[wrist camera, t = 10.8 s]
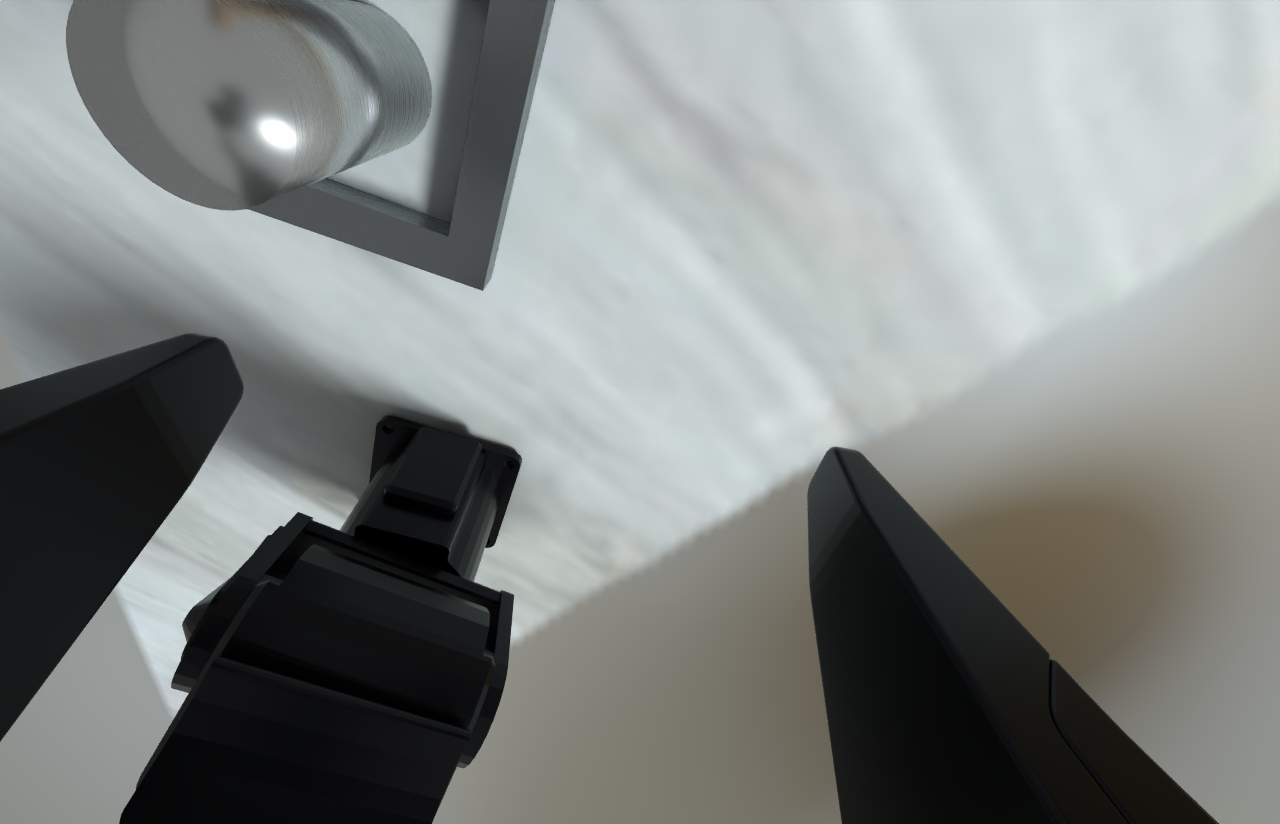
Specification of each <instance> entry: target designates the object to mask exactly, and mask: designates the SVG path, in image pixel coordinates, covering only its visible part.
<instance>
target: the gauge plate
mask: <svg viewBox="0 0 1280 824" xmlns="http://www.w3.org/2000/svg"><path fill="white" fill-rule="evenodd" d="M554 3H555V0H490V2H489V8H488V14H487V19H486V25H485V31H484V36H483V42H482V48H481V54H480V59H479V65H478V71H477V76H476V82H475V88H474V93H473V99H472V105H471V111H470V116H469V122H468V128H467V133H466V139H465V145H464V150H463V156H462V162H461V168H460V173H459V179H458V185H457V190H456V196H455V202H454V207H453V213H452V219H451V224H449V223H446V222H444V221H441V220H438V219H435V218H433V217H430V216H427V215H424V214H422V213H419V212H416V211H414V210H411V209H408V208H405V207H403V206H400V205H397V204H394V203H392V202H389V201H386V200H384V199H381V198H378V197H375V196H373V195H370V194H367V193H364V192H362V191H359V190H356V189H354V188H351V187H348V186H345V185H343V184H340V183H337V182H334V181H332V180H329V179H326V178H325V179H322V180H320V181H317V182H315V183H312V184H310V185H307V186H305V187H302V188H300V189H297V190H295V191H292V192H290V193H288V194H285V195H283V196H280V197H278V198H275V199H273V200H270V201H268V202H265V203H263V204H260V205H258V206H255V207H251V208H248V209H249V210H252V211H255V212H258V213H261V214H264V215H267V216H269V217H272V218H275V219H278V220H281V221H284V222H287V223H290V224H292V225H295V226H298V227H301V228H304V229H307V230H310V231H313V232H315V233H318V234H321V235H324V236H327V237H330V238H333V239H336V240H338V241H341V242H344V243H347V244H350V245H353V246H356V247H359V248H362V249H364V250H367V251H370V252H373V253H376V254H379V255H382V256H385V257H387V258H390V259H393V260H396V261H399V262H402V263H405V264H408V265H410V266H413V267H416V268H419V269H422V270H425V271H428V272H431V273H433V274H436V275H439V276H442V277H445V278H448V279H451V280H454V281H456V282H459V283H462V284H465V285H468V286H471V287H474V288H477V289H480V290H482V291H483V290H484V288H485V287H486V285H487V284H488V283H489V281H490V280H491V277H492V272H493V268H494V264H495V259H496V255H497V251H498V246H499V242H500V238H501V233H502V229H503V225H504V220H505V216H506V212H507V207H508V203H509V198H510V194H511V190H512V185H513V181H514V177H515V172H516V168H517V164H518V159H519V155H520V151H521V146H522V142H523V138H524V133H525V129H526V125H527V120H528V116H529V112H530V107H531V103H532V99H533V94H534V90H535V85H536V81H537V77H538V72H539V68H540V64H541V59H542V55H543V51H544V46H545V42H546V38H547V33H548V29H549V25H550V20H551V16H552V12H553V7H554Z"/></svg>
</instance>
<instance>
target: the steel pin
mask: <svg viewBox="0 0 1280 824" xmlns="http://www.w3.org/2000/svg"><path fill="white" fill-rule="evenodd" d="M66 45H67V53H68V60H69V64H70V68H71V72H72V75H73V78H74V81H75V84H76V87H77V89H78V92H79V94H80V96H81V98H82V100H83V102H84V104H85V106H86V108H87V110H88V111H89V113H90V115H91V116H92V118H93V120H94V122H95V123H96V124H97V126H98V127H99V129H100V130H101V131H102V133H103V134H104V136H105V137H106V138H107V139H108V141H109V142H110V143H111V144H112V145H113V147H114V148H115V149H116V150H117V151H118V152H119V153H120V154H121V155H122V156H123V157H124V158H125V159H126V160H127V161H128V162H129V163H130V164H131V165H132V166H133V167H134V168H136V169H137V170H138V171H139V172H140V173H141V174H143V175H144V176H145V177H147V178H148V179H149V180H151V181H152V182H153V183H155V184H156V185H158V186H160V187H161V188H163V189H164V190H166V191H168V192H169V193H171V194H173V195H175V196H177V197H179V198H181V199H184V200H186V201H189V202H191V203H194V204H197V205H200V206H204V207H207V208H213V209H219V210H242V209H248V208H251V207H255V206H258V205H260V204H263V203H265V202H268V201H270V200H273V199H275V198H278V197H280V196H283V195H285V194H288V193H290V192H292V191H295V190H297V189H300V188H302V187H305V186H307V185H310V184H312V183H315V182H317V181H320V180H322V179H325V178H327V177H330V176H332V175H334V174H337V173H339V172H342V171H344V170H347V169H349V168H352V167H354V166H357V165H359V164H362V163H364V162H367V161H369V160H372V159H374V158H376V157H379V156H381V155H384V154H386V153H389V152H391V151H394V150H396V149H399V148H401V147H403V146H406V145H408V144H409V143H411V142H412V141H413V140H414V139H416V138H417V137H418V136H419V134H420V133H421V132H422V130H423V129H424V127H425V125H426V123H427V121H428V118H429V115H430V110H431V104H432V88H431V81H430V76H429V73H428V69H427V66H426V64H425V61H424V58H423V56H422V54H421V52H420V50H419V49H418V47H417V45H416V44H415V42H414V41H413V39H412V38H411V37H410V35H409V34H408V33H407V31H406V30H405V29H404V28H403V27H402V26H401V25H400V24H399V23H398V22H396V21H395V20H394V19H393V18H392V17H391V16H389V15H388V14H386V13H385V12H383V11H381V10H379V9H377V8H375V7H373V6H371V5H368V4H365V3H361V2H356V1H350V0H74V1H73V4H72V7H71V9H70V12H69V16H68V21H67V27H66Z"/></svg>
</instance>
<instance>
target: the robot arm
mask: <svg viewBox="0 0 1280 824" xmlns="http://www.w3.org/2000/svg"><path fill="white" fill-rule="evenodd" d="M243 388H244V387H243V381H242V379H241V376H240V374H239V371H238V369H237V367H236V364H235V362H234V360H233V357H232V355H231V352H230V350H229V348H228V346H227V344H226V343H225V342H224V341H223V340H221V339H219V338H216V337H211V336H205V335H200V334H184V335H180V336H177V337H174V338H170V339H167V340H164V341H160V342H157V343H154V344H150V345H147V346H144V347H140V348H137V349H134V350H130V351H127V352H124V353H120V354H117V355H114V356H111V357H107V358H104V359H101V360H97V361H94V362H91V363H87V364H84V365H81V366H77V367H74V368H71V369H67V370H64V371H61V372H57V373H54V374H51V375H47V376H44V377H41V378H37V379H34V380H31V381H27V382H24V383H21V384H18V385H14V386H11V387H7V388H4V389H1V390H0V741H1V740H2V739H3V737H4V736H5V735H6V733H7V732H8V730H9V729H10V728H11V726H12V725H13V724H14V722H15V721H16V720H17V718H18V717H19V716H20V714H21V713H22V711H23V710H24V709H25V707H26V706H27V705H28V704H29V702H30V701H31V699H32V698H33V697H34V695H35V694H36V693H37V691H38V690H39V689H40V687H41V686H42V685H43V683H44V682H45V680H46V679H47V678H48V676H49V675H50V674H51V672H52V671H53V670H54V668H55V667H56V666H57V664H58V663H59V662H60V660H61V659H62V658H63V656H64V655H65V653H66V652H67V651H68V650H69V648H70V647H71V646H72V644H73V643H74V641H75V640H76V639H77V637H78V636H79V635H80V633H81V632H82V631H83V629H84V628H85V627H86V625H87V624H88V623H89V621H90V620H91V619H92V617H93V616H94V615H95V613H96V612H97V610H98V609H99V608H100V606H101V605H102V604H103V602H104V601H105V600H106V598H107V597H108V596H109V594H110V593H111V592H112V590H113V589H114V588H115V586H116V585H117V584H118V582H119V581H120V579H121V578H122V577H123V575H124V574H125V573H126V571H127V570H128V569H129V567H130V566H131V565H132V563H133V562H134V561H135V559H136V558H137V557H138V555H139V554H140V552H141V551H142V550H143V548H144V547H145V546H146V544H147V543H148V542H149V540H150V539H151V538H152V536H153V535H154V534H155V532H156V531H157V530H158V528H159V527H160V526H161V524H162V523H163V521H164V520H165V519H166V517H167V516H168V515H169V513H170V512H171V511H172V509H173V508H174V507H175V505H176V504H177V503H178V501H179V500H180V499H181V497H182V496H183V494H184V493H185V491H186V490H187V489H188V487H189V486H190V484H191V483H192V481H193V480H194V478H195V476H196V475H197V473H198V472H199V470H200V468H201V467H202V465H203V463H204V462H205V460H206V458H207V456H208V455H209V453H210V451H211V450H212V448H213V446H214V444H215V443H216V441H217V439H218V438H219V436H220V434H221V432H222V431H223V429H224V427H225V426H226V424H227V422H228V420H229V419H230V417H231V415H232V414H233V412H234V410H235V408H236V407H237V405H238V403H239V402H240V400H241V398H242V394H243ZM387 425H389V426H391V427H392V428H393V429H390V428H388V427H387ZM507 461H512V462H514V463H513V464H512V463H509V462H507ZM521 463H522V458H521V456H520V455H519V454H518V453H516V452H514V451H510V450H507V449H504V448H500V447H497V446H493V445H490V444H487V443H483V442H480V441H476V440H473V439H470V438H466V437H463V436H459V435H456V434H453V433H449V432H446V431H442V430H439V429H436V428H432V427H429V426H425V425H422V424H419V423H415V422H412V421H408V420H405V419H402V418H398V417H395V416H390V415H387V416H384V417H382V418H381V420H380V421H379V422H378V424H377V426H376V434H375V442H374V450H373V458H372V466H371V474H370V482H369V486H368V487H367V489H366V490H365V492H364V493H363V495H362V497H361V498H360V500H359V501H358V503H357V504H356V506H355V507H354V509H353V511H352V512H351V514H350V515H349V517H348V518H347V520H346V521H345V523H344V525H343V526H342V528H341V529H340V531H339V530H337V529H334V528H331V527H329V526H326V525H323V524H321V523H318V522H316V521H313V518H312V517H310V516H307V515H305V514H302V513H299V512H298V513H297V514H296V515H295V516H294V517H293V518H292V519H291V520H290V521H289V522H288V523H287V524H286V525H285V527H283V526H280V527H279V528H278V529H277V530H276V531H275V532H274V533H273V534H272V535H268V536H267V537H266V538H265V540H264V541H263V542H262V543H261V545H260V546H259V547H258V549H257V550H256V551H255V552H254V554H253V555H252V556H251V557H250V558H249V559H248V560H247V561H246V562H245V563H244V564H243V566H242V567H241V568H240V569H239V570H238V571H237V572H236V573H235V574H234V575H233V576H232V577H231V578H230V579H228V580H227V581H226V582H225V583H223V584H222V585H221V586H219V587H218V588H217V589H216V590H214V591H213V592H212V593H210V594H209V595H208V596H207V597H205V598H204V599H203V600H201V601H200V602H199V603H197V604H196V605H195V606H194V607H193V608H192V609H191V610H190V612H189V613H188V615H187V616H186V618H185V619H184V621H183V624H182V626H183V630H184V634H185V637H186V641H187V644H186V646H185V648H184V651H183V653H182V656H181V661H180V663H179V666H178V668H177V670H176V672H175V674H174V677H173V680H172V684H171V688H173V689H176V690H180V691H184V692H187V693H189V694H188V696H187V697H186V699H185V701H184V703H183V704H182V706H181V708H180V709H179V711H178V713H177V714H176V716H175V718H174V720H173V721H172V723H171V725H170V726H169V728H168V730H167V732H166V733H165V735H164V737H163V738H162V740H161V742H160V743H159V745H158V747H157V749H156V750H155V752H154V754H153V755H152V757H151V759H150V760H149V762H148V764H147V766H146V767H145V769H144V771H143V772H142V774H141V776H140V779H139V781H138V783H137V786H136V791H135V793H134V794H133V796H132V797H131V799H130V801H129V802H128V804H127V805H126V807H125V808H124V810H123V813H122V814H121V818H120V823H119V824H432V822H433V819H434V817H435V815H436V812H437V810H438V808H439V806H440V803H441V801H442V799H443V796H444V794H445V792H446V790H447V787H448V785H449V783H450V781H451V779H452V776H453V774H454V771H455V770H456V767H461V768H465V767H466V766H468V765H469V764H470V763H471V761H472V760H473V759H474V757H475V756H476V754H477V753H478V751H479V749H480V748H481V746H482V744H483V742H484V740H485V738H486V736H487V734H488V732H489V729H490V727H491V724H492V722H493V720H494V717H495V714H496V711H497V709H498V706H499V702H500V700H501V696H502V692H503V689H504V685H505V680H506V676H507V669H508V660H509V648H510V636H511V625H512V613H513V601H514V595H513V594H511V593H508V592H505V591H503V590H501V591H500V592H499V591H496V590H494V589H491V588H488V587H486V586H483V585H481V584H478V583H475V582H474V579H475V576H476V573H477V570H478V567H479V564H480V561H481V558H482V555H483V552H484V549H485V548H489V547H492V546H494V544H495V542H496V539H497V536H498V533H499V530H500V527H501V524H502V521H503V518H504V515H505V512H506V509H507V506H508V503H509V500H510V497H511V494H512V491H513V488H514V485H515V482H516V478H517V475H518V472H519V469H520V466H521ZM807 502H808V504H807V505H808V552H809V553H808V555H809V556H808V557H809V586H810V595H811V604H812V610H813V618H814V626H815V633H816V639H817V647H818V654H819V662H820V669H821V675H822V683H823V690H824V698H825V705H826V712H827V719H828V726H829V734H830V741H831V747H832V756H833V763H834V770H835V777H836V784H837V792H838V799H839V805H840V813H841V821H842V824H1219V823H1218V822H1217V821H1216V820H1215V819H1214V818H1213V817H1211V816H1210V815H1209V814H1208V813H1207V812H1206V811H1205V810H1204V809H1203V808H1202V807H1201V806H1200V805H1199V804H1198V803H1197V802H1196V801H1195V800H1194V799H1193V798H1192V797H1191V796H1190V795H1189V794H1187V793H1186V792H1185V791H1184V790H1183V789H1182V788H1181V787H1180V786H1179V785H1178V784H1177V783H1176V782H1175V781H1174V780H1173V779H1172V778H1171V777H1170V776H1169V775H1168V774H1167V773H1166V772H1165V771H1164V770H1163V769H1162V768H1161V767H1160V766H1159V765H1158V764H1157V763H1156V762H1154V761H1153V759H1151V758H1150V757H1149V756H1148V755H1147V754H1146V753H1145V752H1144V751H1143V750H1142V749H1141V748H1140V747H1139V746H1138V745H1137V744H1136V743H1135V742H1134V741H1133V740H1132V739H1131V738H1130V737H1129V736H1128V735H1127V734H1126V733H1125V732H1124V731H1123V730H1122V729H1121V728H1120V727H1119V726H1118V725H1117V724H1116V723H1115V722H1114V721H1113V720H1112V719H1111V718H1110V716H1109V715H1108V714H1107V713H1106V712H1105V711H1104V710H1103V709H1102V708H1101V707H1100V706H1099V705H1098V704H1097V703H1096V702H1095V701H1094V700H1093V699H1092V698H1091V697H1090V696H1089V695H1088V694H1087V693H1086V692H1085V691H1084V690H1083V689H1082V688H1081V686H1079V684H1078V683H1077V682H1076V681H1075V680H1074V679H1073V678H1072V677H1071V676H1070V675H1069V674H1068V673H1067V672H1066V671H1065V669H1064V668H1063V667H1061V665H1060V664H1059V663H1058V662H1057V661H1056V660H1054V659H1050V654H1049V653H1048V652H1047V651H1046V649H1045V648H1044V647H1043V646H1042V645H1041V644H1040V643H1039V642H1038V641H1037V640H1036V639H1035V638H1034V637H1033V636H1032V635H1031V634H1030V632H1029V631H1028V630H1027V629H1026V628H1025V627H1024V626H1023V625H1022V624H1021V623H1020V622H1019V621H1018V620H1017V619H1016V617H1015V616H1014V615H1013V614H1012V613H1011V612H1010V611H1009V610H1008V609H1007V608H1006V607H1005V606H1004V605H1003V604H1002V603H1001V602H1000V600H999V599H998V598H997V597H996V596H995V595H994V594H993V593H992V592H991V591H990V590H989V589H988V588H987V587H986V586H985V585H984V584H983V582H982V581H981V580H980V579H979V578H978V577H977V576H976V575H975V574H974V573H973V572H972V571H971V569H970V568H969V567H968V566H967V565H966V564H965V563H964V562H963V561H962V560H961V559H960V558H959V557H958V556H957V555H956V553H955V552H954V551H953V550H952V549H951V548H950V547H949V546H948V545H947V544H946V543H945V542H944V541H943V540H942V539H941V538H940V536H939V535H938V534H937V533H936V532H935V531H934V530H933V529H932V528H931V527H930V526H929V525H928V524H927V523H926V522H925V521H924V520H923V518H922V517H921V516H920V515H919V514H918V513H917V512H916V511H915V510H914V509H913V508H912V507H911V506H910V504H909V503H908V502H907V501H906V500H905V499H904V498H903V497H902V496H901V495H900V494H899V493H898V492H897V491H896V490H895V488H894V487H893V486H892V485H891V484H890V483H889V482H888V481H887V480H886V479H885V478H884V477H883V476H882V475H881V474H880V472H879V471H877V470H876V468H875V467H874V466H873V465H872V464H871V463H870V462H869V461H868V460H867V459H866V457H865V456H864V455H863V454H861V453H860V452H859V451H857V450H852V449H847V448H841V447H832V448H830V449H829V450H828V451H827V452H826V454H825V456H824V458H823V459H822V461H821V463H820V465H819V467H818V468H817V470H816V472H815V474H814V476H813V478H812V479H811V481H810V484H809V488H808V494H807Z"/></svg>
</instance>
